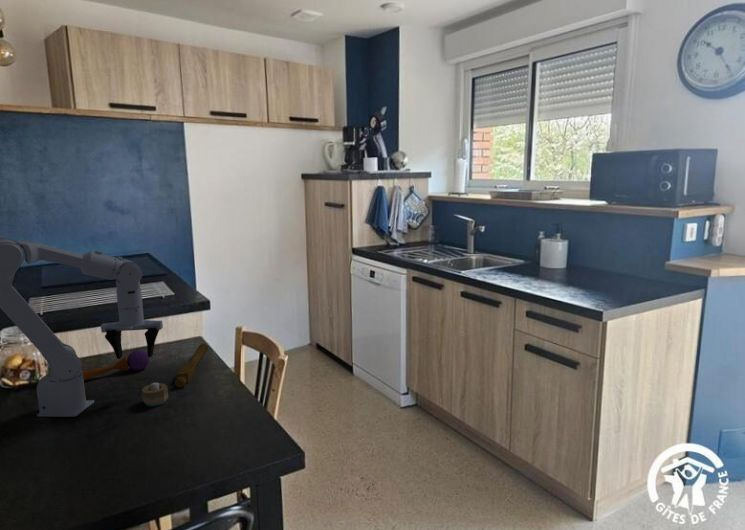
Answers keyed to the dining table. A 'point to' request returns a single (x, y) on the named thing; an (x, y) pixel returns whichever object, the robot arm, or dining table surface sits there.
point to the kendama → (122, 364)
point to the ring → (154, 394)
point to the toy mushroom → (155, 387)
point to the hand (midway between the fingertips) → (135, 356)
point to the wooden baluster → (190, 367)
